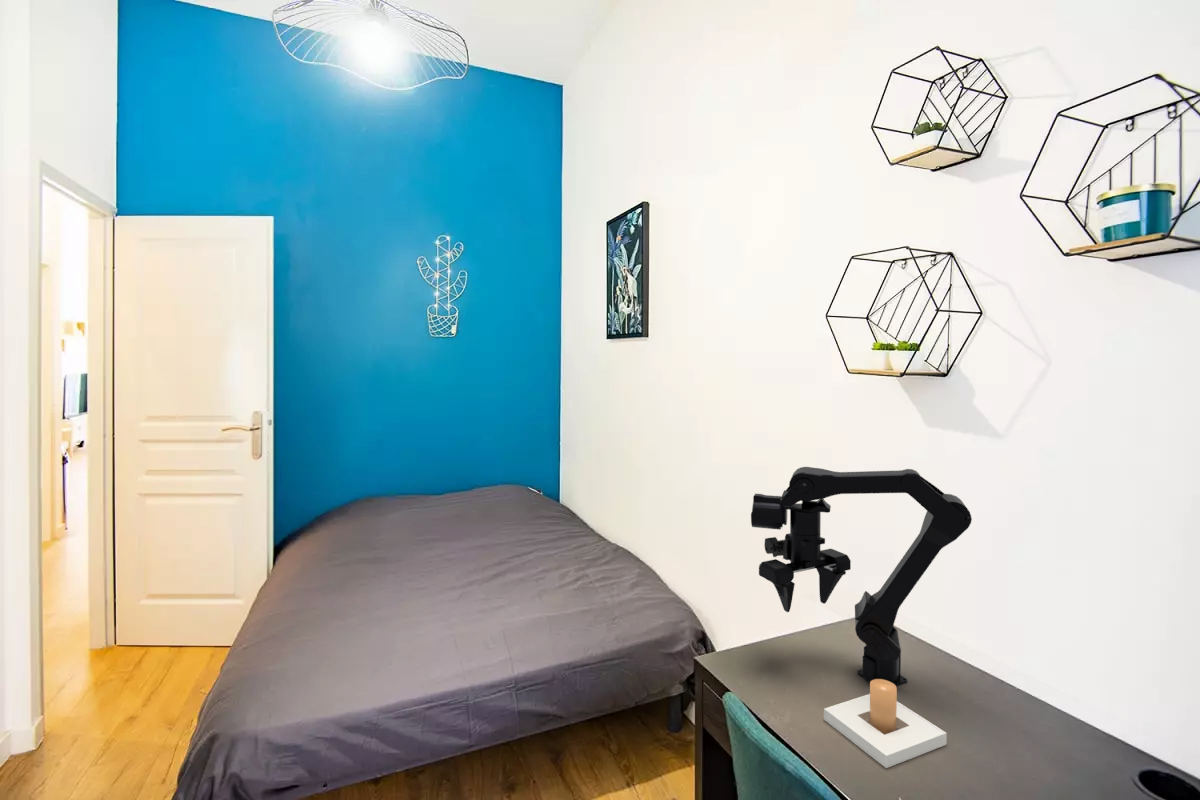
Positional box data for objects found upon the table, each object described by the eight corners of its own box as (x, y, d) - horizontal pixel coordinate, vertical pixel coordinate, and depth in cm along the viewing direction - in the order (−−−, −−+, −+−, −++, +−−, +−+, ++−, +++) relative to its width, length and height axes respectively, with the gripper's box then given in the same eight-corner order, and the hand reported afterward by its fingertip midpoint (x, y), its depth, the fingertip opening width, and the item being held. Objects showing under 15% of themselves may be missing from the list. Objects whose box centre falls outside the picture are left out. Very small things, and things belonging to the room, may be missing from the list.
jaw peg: (881, 721, 100) (882, 676, 100) (901, 735, 97) (902, 689, 96) (864, 727, 99) (864, 682, 98) (883, 742, 95) (884, 694, 94)
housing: (880, 701, 106) (880, 690, 106) (946, 744, 94) (946, 732, 94) (823, 719, 101) (823, 708, 101) (886, 768, 89) (886, 755, 89)
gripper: (813, 515, 128) (813, 584, 129) (741, 527, 121) (742, 600, 122) (852, 529, 117) (852, 604, 119) (777, 542, 110) (777, 622, 112)
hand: (805, 607), depth 118 cm, fingers open, 9 cm apart
